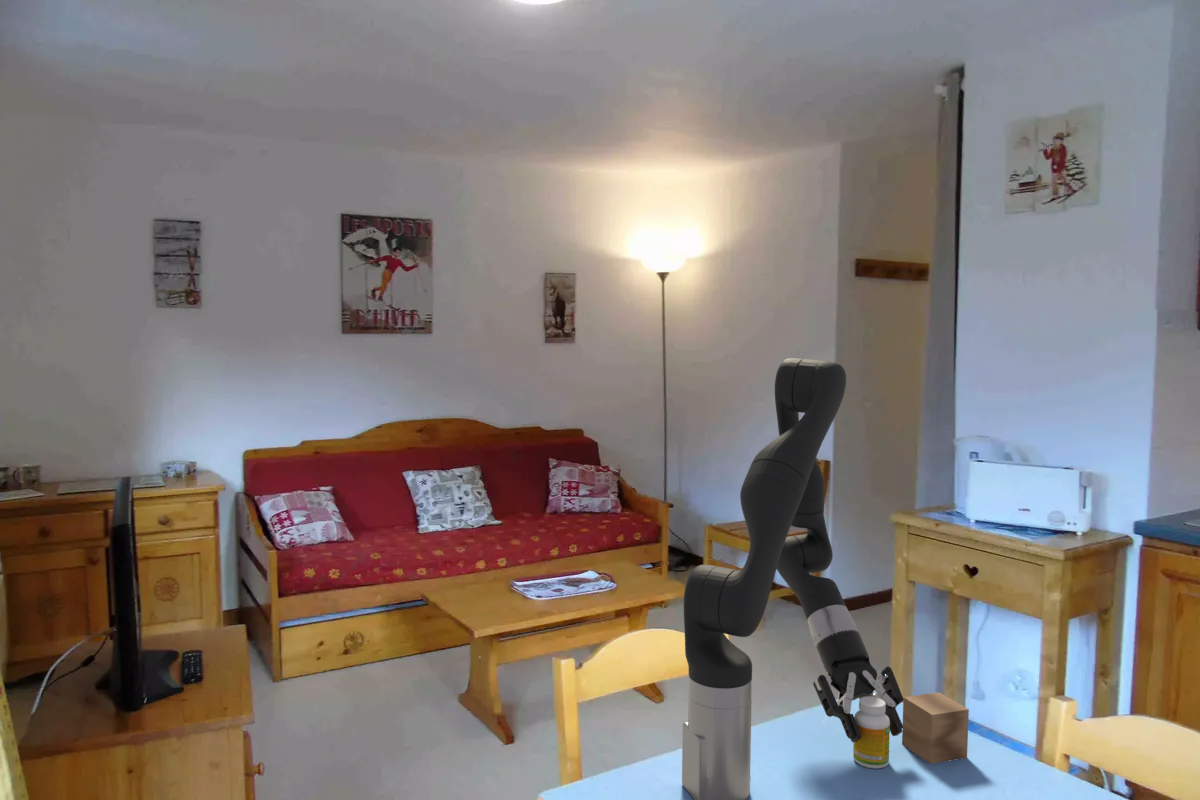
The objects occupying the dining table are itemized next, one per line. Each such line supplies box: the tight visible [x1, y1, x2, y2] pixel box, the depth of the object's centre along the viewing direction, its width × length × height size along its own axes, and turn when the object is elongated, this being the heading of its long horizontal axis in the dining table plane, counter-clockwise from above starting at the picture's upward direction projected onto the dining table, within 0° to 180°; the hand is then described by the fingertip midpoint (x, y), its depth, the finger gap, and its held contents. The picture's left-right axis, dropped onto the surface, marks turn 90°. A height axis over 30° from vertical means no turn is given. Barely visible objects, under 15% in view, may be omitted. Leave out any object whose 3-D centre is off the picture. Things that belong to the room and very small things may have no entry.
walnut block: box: [901, 691, 970, 765], centre depth 137 cm, size 7×7×8 cm
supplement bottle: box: [852, 697, 891, 769], centre depth 133 cm, size 5×5×10 cm
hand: (877, 736), depth 132 cm, fingers open, 7 cm apart
